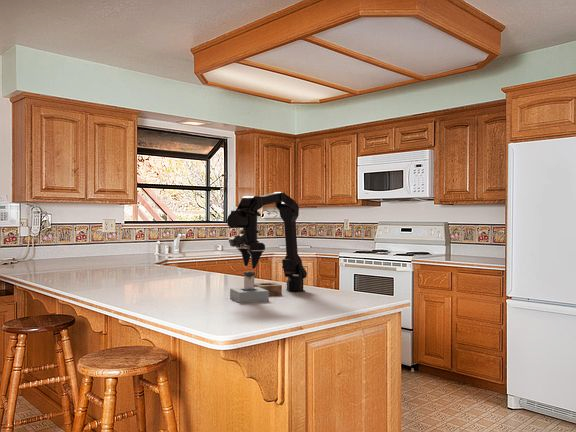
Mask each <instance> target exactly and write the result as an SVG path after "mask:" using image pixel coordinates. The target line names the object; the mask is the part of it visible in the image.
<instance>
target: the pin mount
mask: <svg viewBox="0 0 576 432" xmlns="http://www.w3.org/2000/svg"><path fill="white" fill-rule="evenodd" d="M282 286H283V285H282V284H279V283H276V282H269V281H268V282H254V287H260V288H262V289H265V290H268V291H269V296H282V295H283V292H282V291H283V287H282Z"/></svg>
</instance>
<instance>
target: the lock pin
mask: <svg viewBox="0 0 576 432" xmlns="http://www.w3.org/2000/svg"><path fill="white" fill-rule="evenodd" d="M242 273H243V288H244V291H254V283H255V275H256V271H247V270H245V271H243V272H242Z"/></svg>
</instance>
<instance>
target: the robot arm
mask: <svg viewBox="0 0 576 432" xmlns="http://www.w3.org/2000/svg"><path fill="white" fill-rule="evenodd" d="M271 204H275V208H276V209H277V211H279V212H278V213H279V216H280V219H282V221H283V224H284V239H285V240H284V241H285V253H286V255H285V257H284V258H283V259H282V260H281V263H282V266H281V267H282V268H281V269H282V270H283V273H284V274H283V275H284V277H285V278H287V280H286V290H285V291H287V292H290V293H303V292H306V290H304V279H306V278H307V275H308V273H307V271H306V269H305V267H304V266H303V261H302V258H301V257H300V255H299V253H298V252H299V251H298V242H297V241H298V240H297V224H296V223H297V219H298V218H299V215H300V213H299V211H300V207H299V204H298V203H297V202H296V201H295V200H294V198H292V197H290V196H289V195H287V194H286V193H285V192H284V191H275V192H273V193H268V194H263V195H256V196H253V195H251V196H247V195H246V196H242V197H241V199H240V202H239V204H238V205H237V208H236V210H230V214H229V215H227V219H226V224H227V226H228V227H229V228H230V229H242V230H240V234H237V235H234V236H231V237H229V238H227V240H228V242H229V245H230V247H234V248H236V249H237V250H238V252H240V254H241V257H242V261H243V265H244V266H245V267H248V265H249V263H250V261H251V268H252V269H256V267H257V265H258V263H259V260H260V259H261V256H262V254H263V253H264V251H265V250H266V245H265V243H263V242H260V241H259V240H258V234H259V233H260V230H258V217H261V216H262V215H261V213H260V212H258V210H260V209H262V208H263V207H264V206H267V205H271Z"/></svg>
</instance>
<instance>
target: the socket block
mask: <svg viewBox="0 0 576 432" xmlns="http://www.w3.org/2000/svg"><path fill="white" fill-rule="evenodd" d="M229 298H230V300H232V301H235V302H236V303H239V304H245V303H260V302H269V301H270V299H269V298H270V295H269V291H268V290H265V289H262V288H260V287H254V291H244V287H230V288H229Z"/></svg>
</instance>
